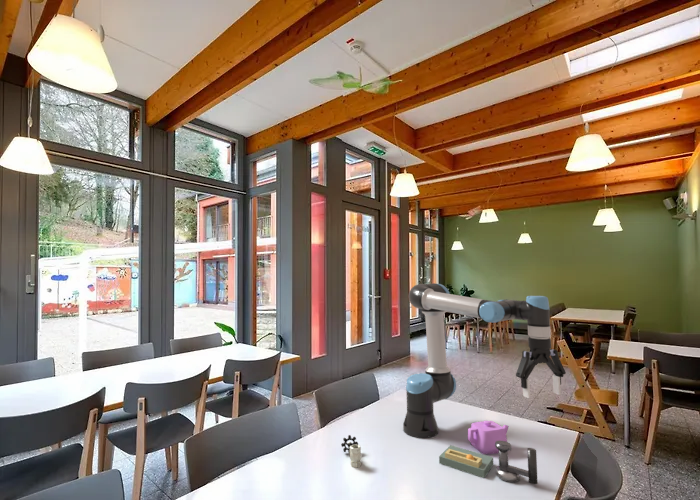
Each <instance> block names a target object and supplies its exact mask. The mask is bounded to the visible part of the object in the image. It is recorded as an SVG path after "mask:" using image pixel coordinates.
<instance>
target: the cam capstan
mask: <svg viewBox="0 0 700 500" xmlns="http://www.w3.org/2000/svg"><path fill="white" fill-rule="evenodd" d="M495 447H496V448H497V449H498V450H499V453H498V466H496V475H497V477H498V478H499V479H500V480H502V481H505V482H507V483H508V482H509V483H515V482H518V481H519V480H520V476H522V477H526V478H528V482H529V483H530V484H533V485H537V484H538V461H537V459H538V458H537V450H536V449H535V448H532V447H529V448H527V469H524V468H520V467H517V466H514V465H509V451H511V450H512V445H511V443H510V442H509V441H507V442H506V441H496V442H495Z"/></svg>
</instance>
